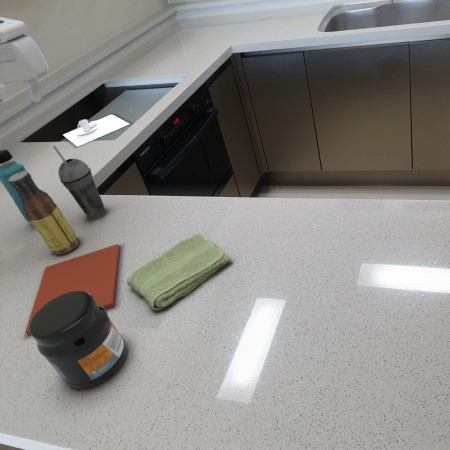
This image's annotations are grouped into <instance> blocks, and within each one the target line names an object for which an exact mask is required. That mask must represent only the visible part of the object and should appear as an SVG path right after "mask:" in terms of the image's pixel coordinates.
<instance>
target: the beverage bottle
mask: <svg viewBox="0 0 450 450" xmlns="http://www.w3.org/2000/svg"><path fill="white" fill-rule="evenodd" d="M13 157H14V156H13V154H12V153H11V152H10V151H9V150H8V149H1V150H0V183H1V184H2V185H3V187H4V189H5V190H6V192H7V193H8V194H9V196H10V197H11V199H12V201H13V203H14V205H15V206H16V207H17V209H18V210H19V212H20V214H21V215H22V217H23V219H24V220H25V221H26V222H28V223H29V224H32V223H31V222H30V220H29V219H28V217H27V216H26V214H25V212H24V210H23V207H22V201H21V197H20V196H19V194H18V192H17V191H16V189H15V188H14V187H13V186H12V185H11V184H10V182H9V178H10V177H11V176H12V175H14V174H16V173H19V172H22V171H27V169H26V168H25V166H24V164H23V163H22V162H20V161H15V160H12V159H13ZM31 179H32V180H33V182H34V183H35V181H34V178H33V177H32V176H31ZM35 184H36V183H35Z"/></svg>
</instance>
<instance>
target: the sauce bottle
mask: <svg viewBox="0 0 450 450" xmlns="http://www.w3.org/2000/svg"><path fill="white" fill-rule="evenodd" d="M31 177H32V175H31V173H30V172H29V171H27V170H26V171H22V172H19V173H16V174H14V175H12V176H11V177H10V178H9V182H10V184H11V185H12V186H13V187H14V188H15V189H16V191H17V192H18V194H19V196H20V197H21V201H22V207H23V210H24V212H25V214H26V216H27V217H28V219H29V220H30V222H31V223H30V224H32V226H33V227H34V229H35V230H36V232H37V233H38V234H39V235H40V237H41V238H42V239H43V241H44V242H45V244H46V245H47V247H48V248H49V249H50V250H51V251H52V253H53V254H54V255H65V254H68V253H70V252H71V251H74V250H75V249H76V248H77V247H78V245H79V244H80V240H79V238H78V237H77V234H76V232H75V230H74V229H73V227H72V226H71V224H70V223H69V221H68V220H67V219H66V217H65V215H64V214H63V212H62V211H61V209H60V208H59V207H58V205H57V204H56V203H55V202H54V200H53V198H52V197H51V196H50V195H49V194H48V192H45V191H44V190H42V189H41V188H39V186H37V184H36V183H34V182H35V181H34V179H33V178H32V179H33V180H32V179H31Z"/></svg>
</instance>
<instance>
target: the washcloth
mask: <svg viewBox="0 0 450 450" xmlns="http://www.w3.org/2000/svg"><path fill="white" fill-rule="evenodd" d="M231 260H232V258H231V256H230V255H229V254H228V253H227V252H225V251H224V250H223V249H222V248H221V247H219V245H217V244H215V243H213V241H211V240H209V239H207V238H205V236H203V234H202V233H199V234H194V235H192V236H189V237H188V238H185V239H183V240H181V241H180V242H178V243H177V244H175V245H174V246H172V247H171V248H169V249H168V250H166V251H165V252H163V253H162V254H161V255H159V256H158V257H156V258H154V259H152V260H151V261H149V262H146V263H145V264H144V265H143V266H141V267H139V268H138V269H136V270H134V271H133V272H132V274H131V275H129V277H128V278H127V280H126V284H127V286H128V287H130V288H131V289H132V290H133V291H135V293H137V295H140V296H142V297H143V298H144V301H145V302H146V303H147V304H148V306H149V307H150V309H151V310H154V311H160V310H163V309H164V308H166V307H168V306H169V305H171V304H172V303H174V302H175V301H177V300H178V299H180V298H181V297H185V296H186V295H188V294H189V293H190V292H192V291H193V290H194V289H195V288H197V287H198V286H199V285H200V284H203V282H205V281H206V280H207V279H209V278H210V277H211V276H212V275H213V274H215V273H216V272H217V271H218V270H219V269H220V268H223V267H224V266H225V265H227V263H229V262H230V261H231Z"/></svg>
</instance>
